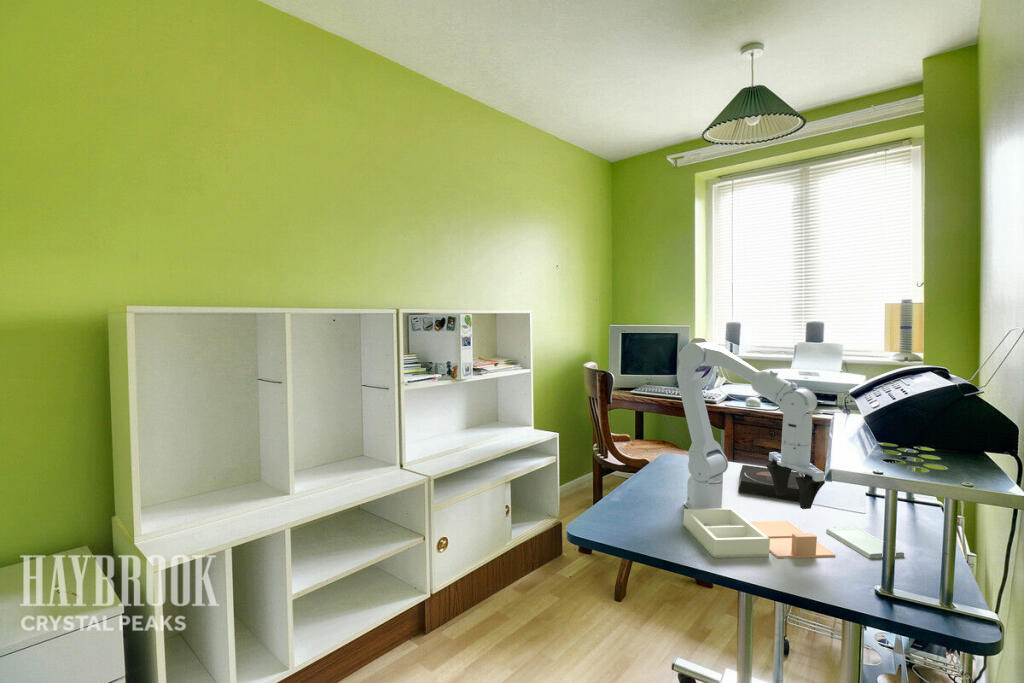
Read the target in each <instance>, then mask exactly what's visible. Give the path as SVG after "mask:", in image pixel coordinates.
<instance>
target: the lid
mask: <svg viewBox="0 0 1024 683" xmlns="http://www.w3.org/2000/svg"><path fill="white" fill-rule="evenodd" d="M749 522H750V523H751V524H752V525H754V526H755V527H756V528H757V529H759V530H760V531H761V532H762V533H764V534H765V535H766V536H767V537H769V538H770V547H769V553H770V554H772V555H773V556H774V557H776V558H777V559H795V558H796V559H797V558H798V559H799V558H800V559H801V558H833V557H834V558H835V557H836V554H835V553H834V552H833V551H831V550H830V549H828V548H827V547H825V546H824V545H822V544H821V543H819V542H818V541H817V540H818V538H817V537H818V536H816V535H815V534H814V533H812V532H804V531H803V530H801V529H799V528H798V527H797V526H795V525H794V524H792V523H791V522H790V521H788V520H767V521H765V520H762V521H761V520H759V521H757V520H756V521H749Z"/></svg>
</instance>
